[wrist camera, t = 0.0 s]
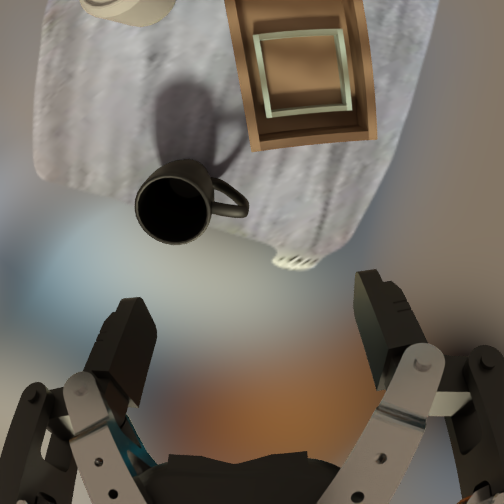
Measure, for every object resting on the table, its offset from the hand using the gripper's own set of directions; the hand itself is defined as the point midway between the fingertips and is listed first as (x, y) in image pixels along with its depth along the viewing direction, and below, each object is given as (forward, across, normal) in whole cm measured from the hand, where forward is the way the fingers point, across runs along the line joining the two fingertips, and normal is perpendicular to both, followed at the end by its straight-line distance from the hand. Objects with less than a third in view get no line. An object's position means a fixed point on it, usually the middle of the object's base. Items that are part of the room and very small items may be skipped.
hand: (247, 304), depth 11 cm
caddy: (+29, -7, -10) cm, 32 cm away
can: (+30, +9, -20) cm, 37 cm away
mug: (+30, +7, +5) cm, 31 cm away
